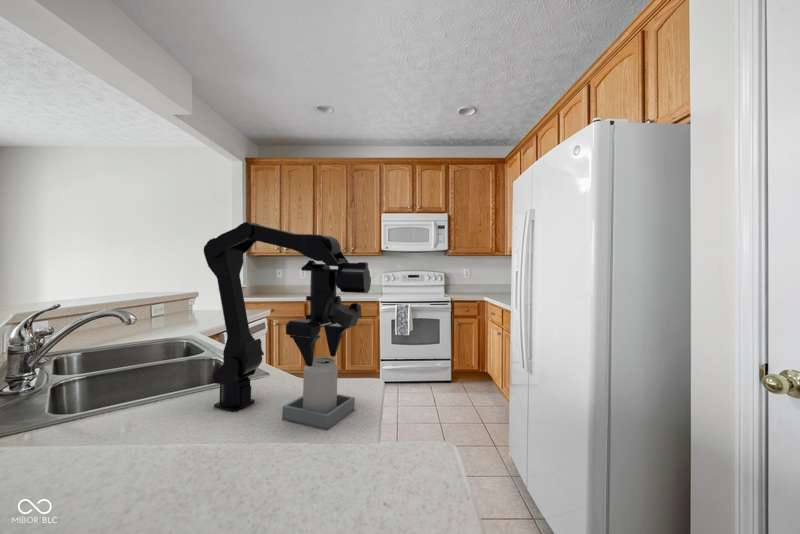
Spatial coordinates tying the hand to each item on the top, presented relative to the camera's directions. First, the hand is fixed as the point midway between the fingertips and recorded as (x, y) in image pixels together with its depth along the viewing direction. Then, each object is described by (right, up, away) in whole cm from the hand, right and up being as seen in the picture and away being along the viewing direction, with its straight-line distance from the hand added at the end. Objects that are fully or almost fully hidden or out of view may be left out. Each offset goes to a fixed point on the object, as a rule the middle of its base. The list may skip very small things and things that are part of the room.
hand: (321, 361), depth 83 cm
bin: (-1, -12, 0) cm, 12 cm away
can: (-1, -12, 0) cm, 12 cm away
